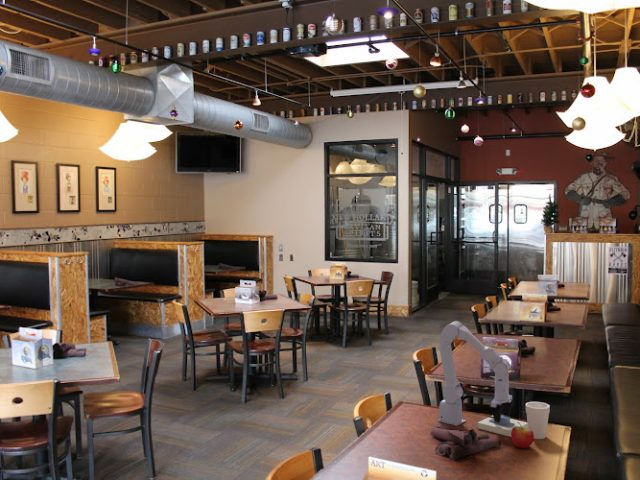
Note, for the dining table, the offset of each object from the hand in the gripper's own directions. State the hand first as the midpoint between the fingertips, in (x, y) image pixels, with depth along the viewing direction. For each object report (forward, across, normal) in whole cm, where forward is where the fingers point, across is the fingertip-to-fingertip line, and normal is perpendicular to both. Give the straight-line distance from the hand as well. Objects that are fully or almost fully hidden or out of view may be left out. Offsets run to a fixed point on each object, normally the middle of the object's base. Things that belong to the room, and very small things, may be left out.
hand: (501, 420), depth 269 cm
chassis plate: (+4, +1, 0) cm, 4 cm away
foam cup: (+4, +2, -15) cm, 16 cm away
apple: (+4, -13, -16) cm, 21 cm away
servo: (+4, 0, 0) cm, 4 cm away
